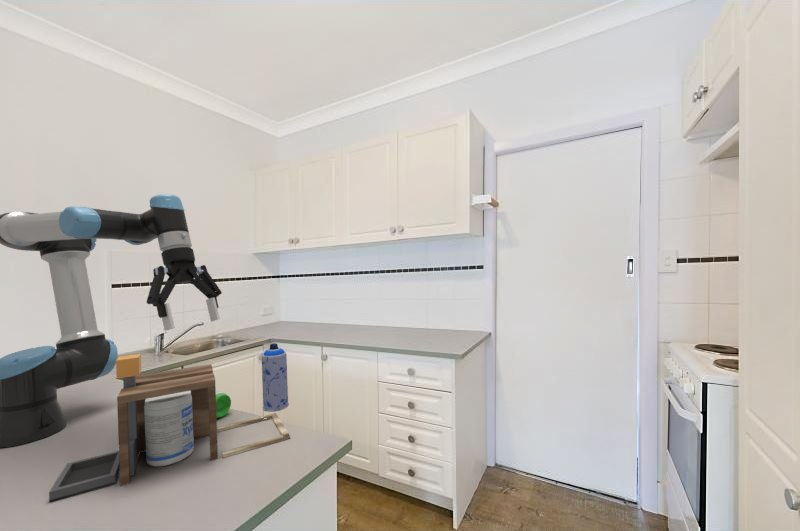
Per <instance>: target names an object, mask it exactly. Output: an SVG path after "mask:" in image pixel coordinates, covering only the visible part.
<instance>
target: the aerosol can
mask: <svg viewBox="0 0 800 531" xmlns="http://www.w3.org/2000/svg"><path fill="white" fill-rule="evenodd" d="M287 356H288V355H287V353H286V351H285V350H284V349H283V348H281V347H279V346H278V343H270V344H269V348H267V349H266V350H265V351H264V352H263V353H262V356H261V376H262V379H261V380H262V403H263V404H262V405H263V406H262V410H263V411H264V412H268V413H276V412H279V411H283V410H285V409H286V408H288V407H289V404H290V403H289V391H288V388H289V386H288V363H287V362H288V361H287V360H288V358H287Z"/></svg>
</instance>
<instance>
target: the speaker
mask: <svg viewBox="0 0 800 531" xmlns="http://www.w3.org/2000/svg"><path fill="white" fill-rule="evenodd" d="M231 406H232V400H231V397H230V396H229V395H228V394H227V393H224V392H223V391H217V390H216V416H217V419H218V418H223V417H224V416H225V415H226V414H228V412H229V410H230V409H231Z"/></svg>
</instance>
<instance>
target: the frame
mask: <svg viewBox="0 0 800 531" xmlns="http://www.w3.org/2000/svg"><path fill="white" fill-rule="evenodd" d="M261 417H263V418H261ZM264 418H267V420H266V419H265V420H263V419H264ZM268 420H272V423H273V424H274V426H275V427H276V429H277V431H278V433H279V434H280V435H277V436H274V437H269V438H266V439H263V440H262V439H261V440H259V441H256V442H252V443H249V444H248V443H247V444H245V445H240V446H237V447H235V448H230V449H227V450H223V451H222V452H221V453H222V454H221V455H222V458H224V459H225V458H227V457H230V456H231V457H232V456H233V455H234V456H235V455H237V454H240V453H245V452H248V451H251V450H255V449H260V448H262V447H263V448H264V447H265V446H270V445H273V444H277V443H280V442H283V441H287V440H290V439H291V435H290V433H289V432H288V430H287V428H286V427H285V425H284V423H283V422H282V420H281V419H280V417H279V416H278V414H277V413H276V412H272V413H269V414H265V415H261V416H258V417H256V416H255V417H253V418H249V419H244V420H240V421H236V422H232V423H228V424H225V425H218V426H217V433H219V432H223V431H227V430H232V429H235V428H239V427H243V426H244V427H245V426H248V425H251V424H255V423H259V422H264V421H268ZM273 420H274V421H273ZM276 421H278V422H276ZM280 422H282V423H280Z"/></svg>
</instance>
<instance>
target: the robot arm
mask: <svg viewBox="0 0 800 531" xmlns="http://www.w3.org/2000/svg"><path fill="white" fill-rule="evenodd" d="M149 207H150V209H148V210H146V211H145V212H143V213H139V214H138V213H133V212H132V213H131V212H122V211H115V210H106V209H99V208H91V207H88V206H73V205H72V206H67V207H65V208H64V209H63V210H62V211H54V212H53V211H52V212H42V213H35V212H27V211H25V212H24V211H12V212H5V213H2V214H0V244H1V245H2V246H5V247H6V248H8V249H9V248H10V249H14V250H18V251H26V252H27V251H28V252H29V251H30V252H39V254H40V258H41V260H43V261H45V262H46V263H48V266H49V273H50V278H51V283H52V284H51V285H52V290H53V296H54V301H55V305H56V312H57V318H58V319H57V320H58V324H59V329H60V330H59V331H60V338H59V340H57V341H56V343H55V346H53V345H43V346H38V347H31V348H26V349H23V350H18V351H15V352H11V353H9V354H6V355H4V356H2V357H1V358H0V449H1V448H2V449H3V448H9V447H15V446H19V445H25V444H29V443H31V442H35V441H39V440H41V439H44V438H47V437H50V436H53V435H55V434H57V433H58V432H60V431H61V430H63V429H65V428H66V426H67V417H66V415H65V413H64V410H63V408H62V407H61V404H60V403H59V401H58V391H57V390H58V389H62V388H65V387H70V386H75V385H77V384H81V383H84V382H88V381H94V380H96V379H98V378H101V377H104V376H107V375H109V374H110V373H111V372H113V371H112V370H114V368H115V367H116V360H117V359H118V357H119V355H118V347H117V344H115V342H114V341H113V340H111V339H109V338H108V339H107V338H106V334H105V333H104V332H101V331H100V330H98V326H97V325H98V324H97V319H96V313H95V309H94V302H93V296H92V292H91V285H90V280H89V274H88V269H87V264H86V259H88V257H89V256H90V255H91V253H90V252H91V251H92V252H93V251H94V249H95V247H96V245H97V244H96V242H97V240H98V239H102V240H103V239H104V240H115V241H118V240H119V241H125V242H126V243H128V244H130V245H133V246H140V245H144V244H147V243H150V242H152V241H154V240H156V239H157V240H158V247H159V250H160V252H161V255H160V256H161V258H162V262H163V263H162V264H163V265H164V266H165V267H164V266H163V265H160V266H157V267H154V268H153V278H152V282H151V285H150V288H149V291H148V296H147V298H146V304H148V305H152V307H156V310H157V316H158V317H159V318H160V319H162V320H161V321H162V325H163V329H164V332H167V331H170V330H172V329H175V323H174V320H173V319H174V318H173V315H172V310H171V306H170V302H167V300H168V298H169V297H170V295H171V293H172V292H173V290H174V288H175V286H176V284H182V283H183V284H187V283H189V284H190V285H193V286H194V287H195V288H196V289H197V290H198V291H200V293H202V294H203V295H204V296H205V297H206V298H207V299H206V300H205V302H206V306H207V311H208V314H209V320H210V322H215V321H217V320H218V321H219V320H220V315H219V311H218V310H219V304H218V298H217V297H219V296H220V295H222V294H223V292H222V290H221V289H220V287H219V286H218V284H217V283H216V281H215V280H214V279H213V278H212V276H211V274H210V273H209V272H208V269H207V266H206V265H205V264H202V265H199V266H197V265H195V261H196V257H195V252H194V249H193V248H192V246H193V245H192V241H191V235H190V231H189V227H188V223H187V218H186V214H185V208H184V206H183V203H182V200H181V198H180V197H179V196H178V195H175V194H170V193H169V194H168V193H160V194H157V195H154V196H151V197H150V199H149ZM166 275H167V276H168V278H167V279H166V281H165V285H164V286H163V283H164V279H165V276H166ZM166 302H167V303H166Z"/></svg>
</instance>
